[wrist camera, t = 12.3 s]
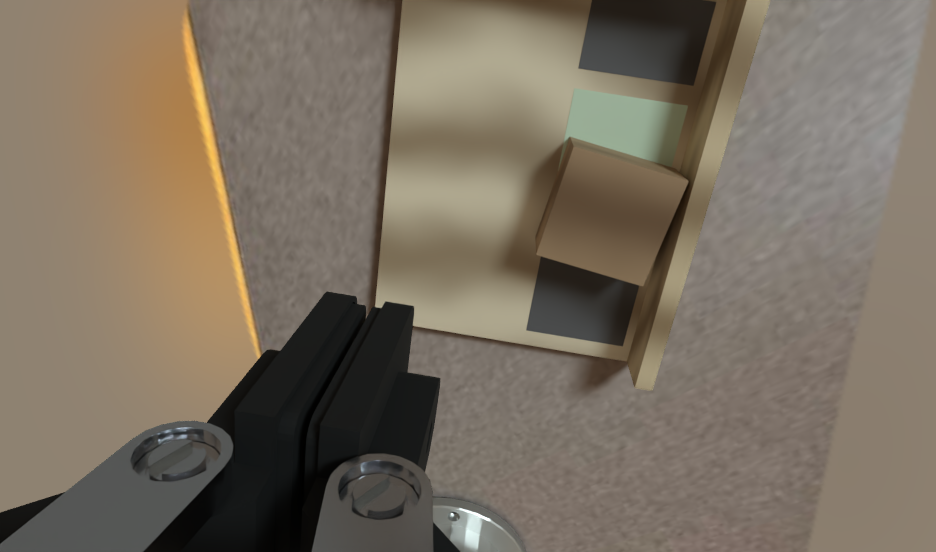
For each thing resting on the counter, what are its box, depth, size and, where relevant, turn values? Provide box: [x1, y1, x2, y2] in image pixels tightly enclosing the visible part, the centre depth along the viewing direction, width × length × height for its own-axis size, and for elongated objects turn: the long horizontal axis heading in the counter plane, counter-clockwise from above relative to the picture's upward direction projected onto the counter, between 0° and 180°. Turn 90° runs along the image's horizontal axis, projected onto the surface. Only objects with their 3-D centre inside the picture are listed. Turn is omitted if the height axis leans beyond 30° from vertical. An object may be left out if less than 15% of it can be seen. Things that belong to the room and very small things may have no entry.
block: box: [535, 137, 689, 286], centre depth 33 cm, size 6×6×3 cm
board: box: [375, 0, 770, 391], centre depth 33 cm, size 22×17×4 cm
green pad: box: [558, 88, 688, 170], centre depth 34 cm, size 8×6×1 cm
